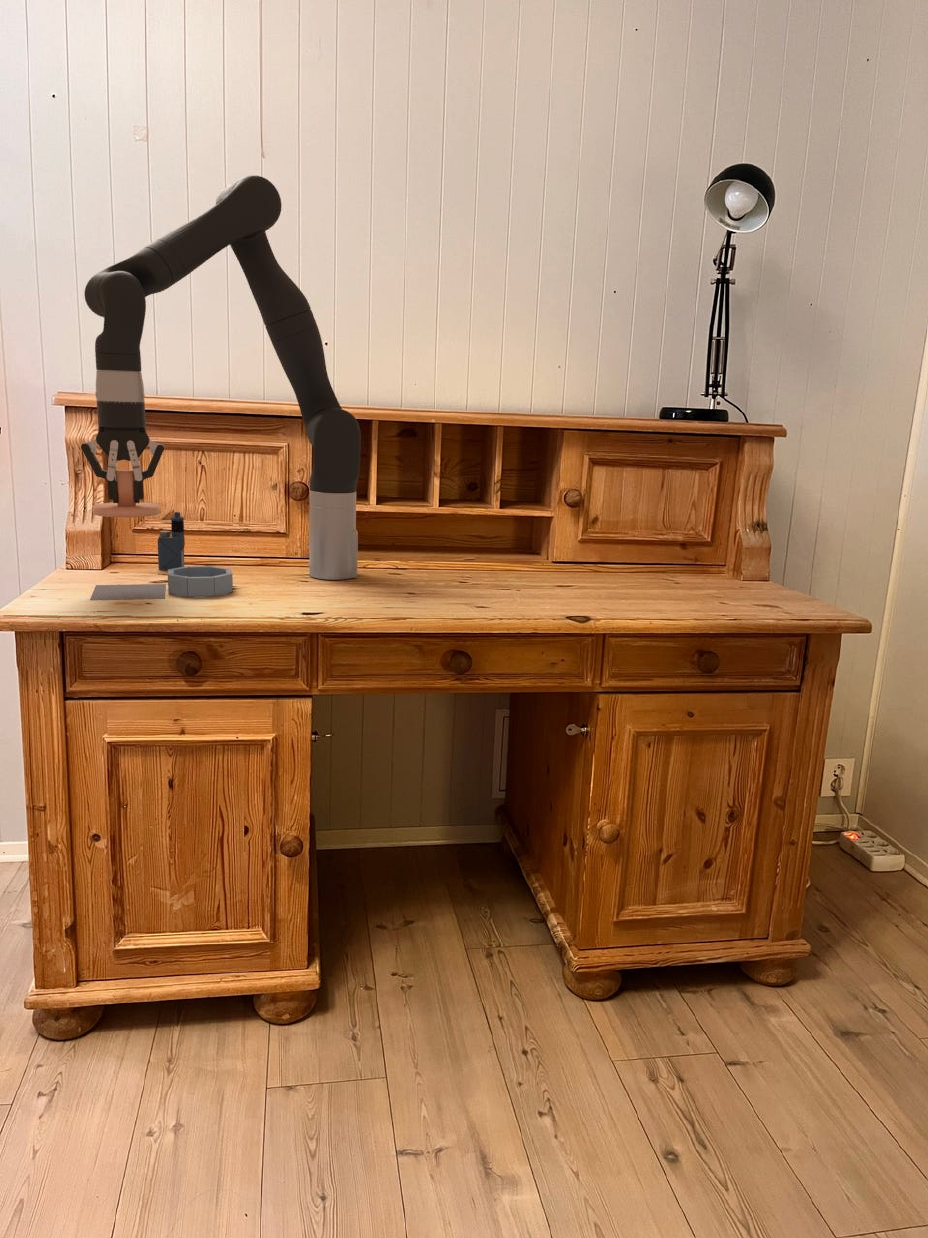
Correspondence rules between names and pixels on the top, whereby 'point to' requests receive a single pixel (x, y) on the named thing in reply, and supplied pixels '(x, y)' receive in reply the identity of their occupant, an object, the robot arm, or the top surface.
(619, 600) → the top surface
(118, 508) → the lid
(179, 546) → the vaping device
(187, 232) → the robot arm
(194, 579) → the bowl
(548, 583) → the top surface
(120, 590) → the mat
